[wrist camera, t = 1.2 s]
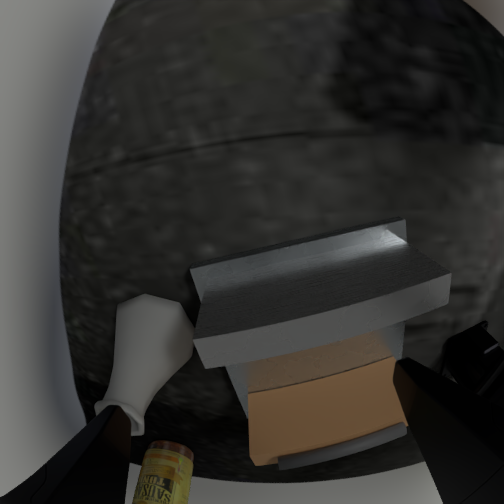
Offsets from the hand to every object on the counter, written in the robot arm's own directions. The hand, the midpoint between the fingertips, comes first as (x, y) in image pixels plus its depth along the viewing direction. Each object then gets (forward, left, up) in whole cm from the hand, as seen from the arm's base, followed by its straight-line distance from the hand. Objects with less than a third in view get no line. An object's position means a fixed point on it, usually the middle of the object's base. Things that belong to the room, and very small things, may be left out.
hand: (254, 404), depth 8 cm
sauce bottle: (-24, +16, -14) cm, 32 cm away
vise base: (-8, -4, -13) cm, 16 cm away
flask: (-5, +9, -14) cm, 17 cm away
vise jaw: (-14, -4, -12) cm, 19 cm away
